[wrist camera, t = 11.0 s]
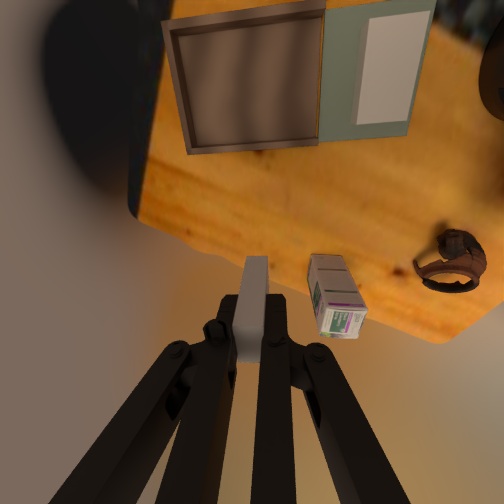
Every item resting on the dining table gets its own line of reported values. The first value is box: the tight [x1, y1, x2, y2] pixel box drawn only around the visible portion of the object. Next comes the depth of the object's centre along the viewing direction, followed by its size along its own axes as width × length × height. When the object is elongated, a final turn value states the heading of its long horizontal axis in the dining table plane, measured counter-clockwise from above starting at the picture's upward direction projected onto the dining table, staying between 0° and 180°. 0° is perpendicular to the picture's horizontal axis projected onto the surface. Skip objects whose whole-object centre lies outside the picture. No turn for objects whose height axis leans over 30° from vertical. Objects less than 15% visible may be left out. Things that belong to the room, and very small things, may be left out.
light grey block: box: [350, 11, 430, 125], centre depth 29 cm, size 6×10×3 cm, turn 5°
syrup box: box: [307, 254, 368, 339], centre depth 39 cm, size 6×6×14 cm
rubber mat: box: [318, 0, 437, 142], centre depth 30 cm, size 12×14×1 cm
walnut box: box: [161, 0, 326, 155], centre depth 31 cm, size 18×14×4 cm
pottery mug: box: [414, 229, 487, 293], centre depth 39 cm, size 12×10×8 cm
